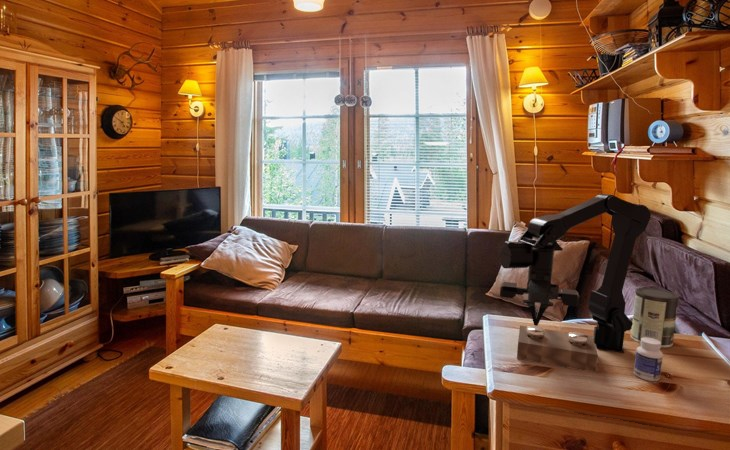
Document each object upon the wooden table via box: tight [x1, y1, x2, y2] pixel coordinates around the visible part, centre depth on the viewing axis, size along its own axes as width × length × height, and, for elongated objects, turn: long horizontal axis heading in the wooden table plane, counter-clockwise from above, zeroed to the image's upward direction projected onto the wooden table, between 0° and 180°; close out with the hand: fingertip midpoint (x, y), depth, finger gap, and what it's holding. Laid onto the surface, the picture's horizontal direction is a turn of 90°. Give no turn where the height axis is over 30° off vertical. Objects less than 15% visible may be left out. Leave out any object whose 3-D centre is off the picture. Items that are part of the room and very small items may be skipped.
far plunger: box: [526, 325, 545, 339], centre depth 114 cm, size 4×4×6 cm
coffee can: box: [630, 287, 680, 349], centre depth 122 cm, size 10×10×14 cm
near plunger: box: [568, 331, 589, 345], centre depth 110 cm, size 4×4×6 cm
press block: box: [516, 325, 599, 373], centre depth 112 cm, size 18×12×4 cm, turn 68°
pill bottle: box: [633, 337, 664, 382], centre depth 102 cm, size 5×5×9 cm
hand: (535, 325), depth 113 cm, fingers closed
